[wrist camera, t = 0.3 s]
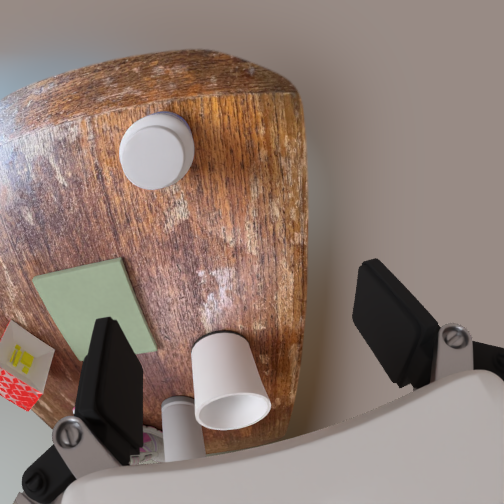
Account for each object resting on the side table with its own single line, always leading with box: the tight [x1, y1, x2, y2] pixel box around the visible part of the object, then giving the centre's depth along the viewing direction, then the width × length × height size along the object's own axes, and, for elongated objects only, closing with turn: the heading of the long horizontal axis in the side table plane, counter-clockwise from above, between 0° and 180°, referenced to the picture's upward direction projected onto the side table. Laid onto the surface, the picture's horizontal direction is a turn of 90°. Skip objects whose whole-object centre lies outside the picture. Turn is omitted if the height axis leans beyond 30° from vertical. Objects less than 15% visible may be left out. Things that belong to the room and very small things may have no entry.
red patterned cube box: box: [0, 320, 55, 411], centre depth 29 cm, size 8×8×8 cm
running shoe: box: [73, 407, 165, 465], centre depth 42 cm, size 9×22×10 cm, turn 41°
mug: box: [191, 330, 271, 430], centre depth 36 cm, size 11×9×10 cm
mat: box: [32, 257, 157, 361], centre depth 32 cm, size 14×12×1 cm
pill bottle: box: [119, 111, 194, 190], centre depth 21 cm, size 5×5×10 cm
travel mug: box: [162, 396, 206, 462], centre depth 36 cm, size 6×7×20 cm
